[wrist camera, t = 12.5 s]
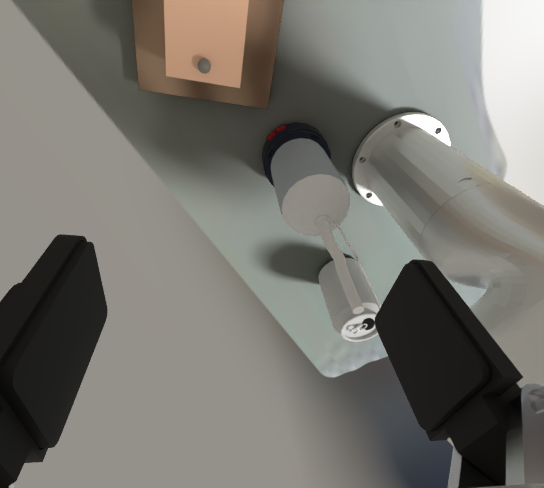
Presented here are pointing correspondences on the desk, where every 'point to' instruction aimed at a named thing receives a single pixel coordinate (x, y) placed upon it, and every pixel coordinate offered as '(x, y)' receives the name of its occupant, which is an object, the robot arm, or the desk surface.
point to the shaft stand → (251, 92)
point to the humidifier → (310, 192)
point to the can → (338, 304)
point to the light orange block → (205, 40)
